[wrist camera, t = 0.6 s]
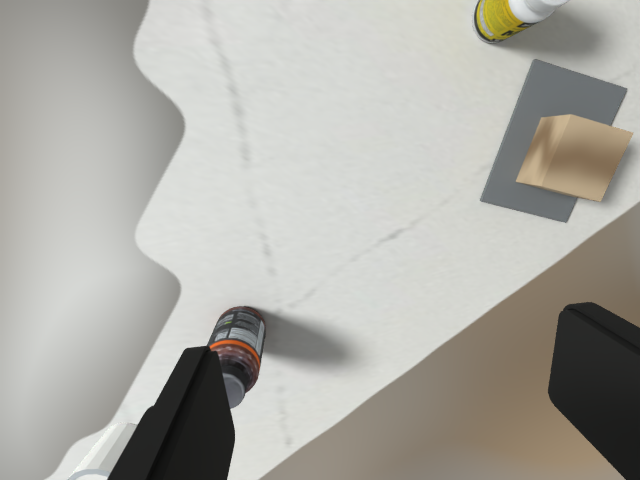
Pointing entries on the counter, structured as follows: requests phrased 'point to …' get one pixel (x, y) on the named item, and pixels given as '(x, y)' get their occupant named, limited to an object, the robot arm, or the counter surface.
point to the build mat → (533, 103)
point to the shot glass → (104, 453)
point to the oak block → (573, 156)
